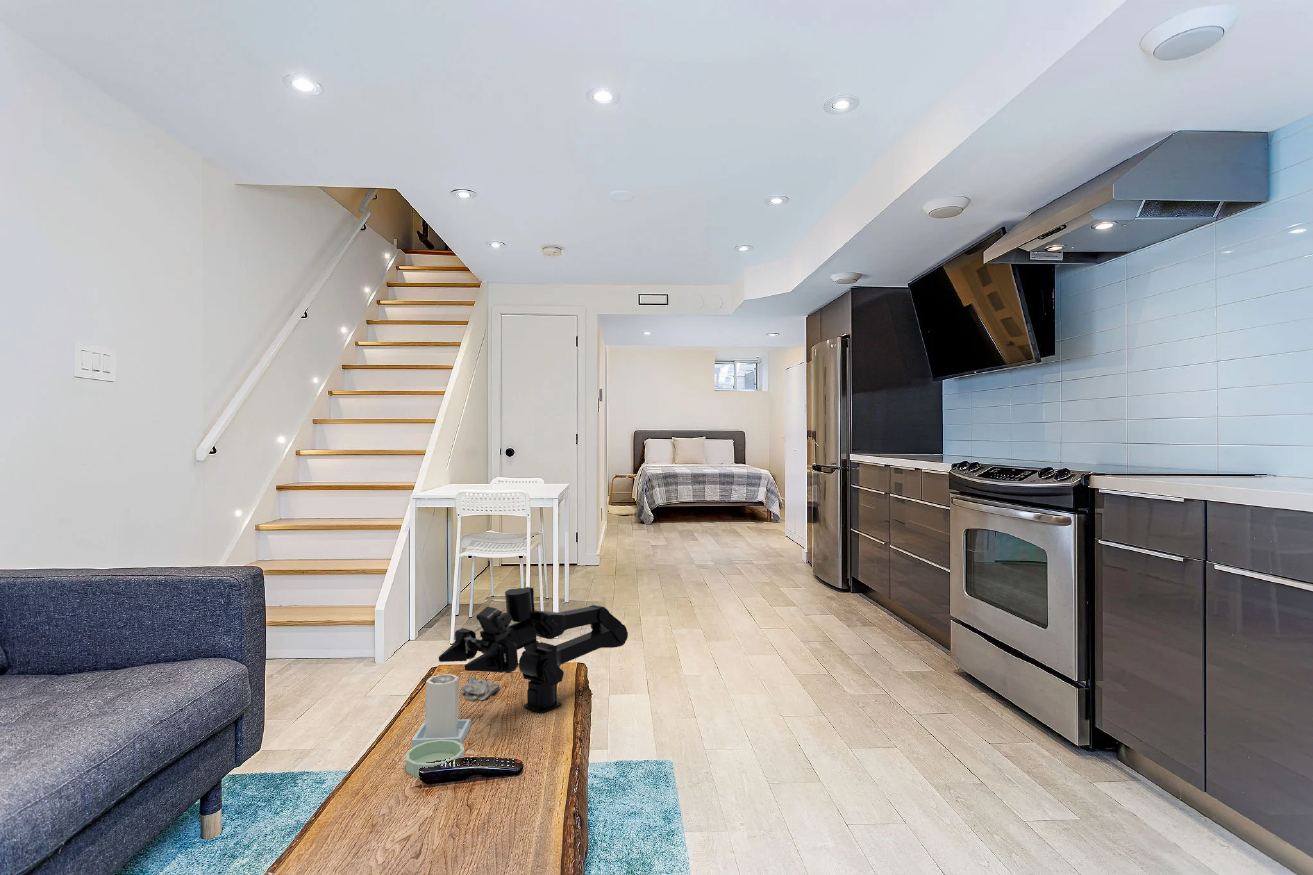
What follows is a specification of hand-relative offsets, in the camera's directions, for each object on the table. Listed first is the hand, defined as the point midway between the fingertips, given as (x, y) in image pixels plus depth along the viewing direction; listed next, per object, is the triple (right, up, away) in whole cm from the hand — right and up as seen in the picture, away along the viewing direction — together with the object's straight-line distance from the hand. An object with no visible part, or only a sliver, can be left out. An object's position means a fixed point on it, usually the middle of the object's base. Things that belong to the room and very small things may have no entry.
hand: (451, 663), depth 134 cm
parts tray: (-2, -16, 0) cm, 16 cm away
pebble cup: (-2, -16, 0) cm, 16 cm away
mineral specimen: (-2, -18, +28) cm, 33 cm away
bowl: (0, -16, -11) cm, 19 cm away
